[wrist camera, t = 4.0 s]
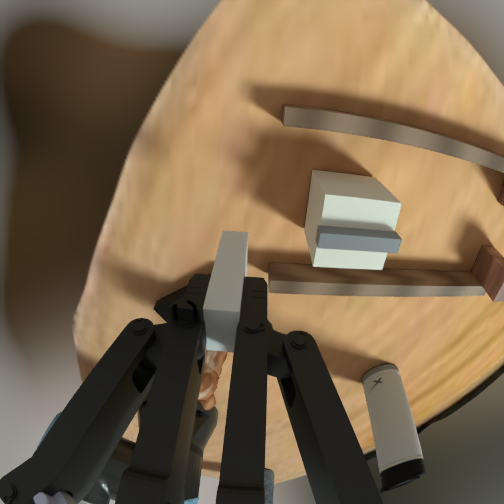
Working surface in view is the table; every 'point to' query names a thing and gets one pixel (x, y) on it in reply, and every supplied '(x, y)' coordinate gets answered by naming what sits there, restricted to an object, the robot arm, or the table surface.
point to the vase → (268, 485)
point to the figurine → (212, 357)
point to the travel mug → (392, 428)
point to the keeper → (350, 221)
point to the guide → (386, 280)
